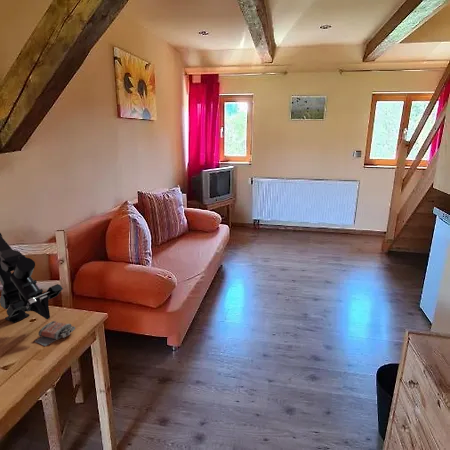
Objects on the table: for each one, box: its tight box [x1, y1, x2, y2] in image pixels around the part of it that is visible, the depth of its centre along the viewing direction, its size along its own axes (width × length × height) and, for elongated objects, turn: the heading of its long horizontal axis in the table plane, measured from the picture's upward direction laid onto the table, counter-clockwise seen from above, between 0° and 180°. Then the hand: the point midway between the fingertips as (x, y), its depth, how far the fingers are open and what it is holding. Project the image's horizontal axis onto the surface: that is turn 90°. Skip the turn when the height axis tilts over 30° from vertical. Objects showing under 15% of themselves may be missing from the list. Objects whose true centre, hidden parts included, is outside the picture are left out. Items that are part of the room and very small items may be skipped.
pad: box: [34, 336, 58, 347], centre depth 124 cm, size 6×10×1 cm, turn 151°
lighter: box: [38, 320, 76, 341], centre depth 125 cm, size 8×3×10 cm
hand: (48, 318), depth 122 cm, fingers closed
